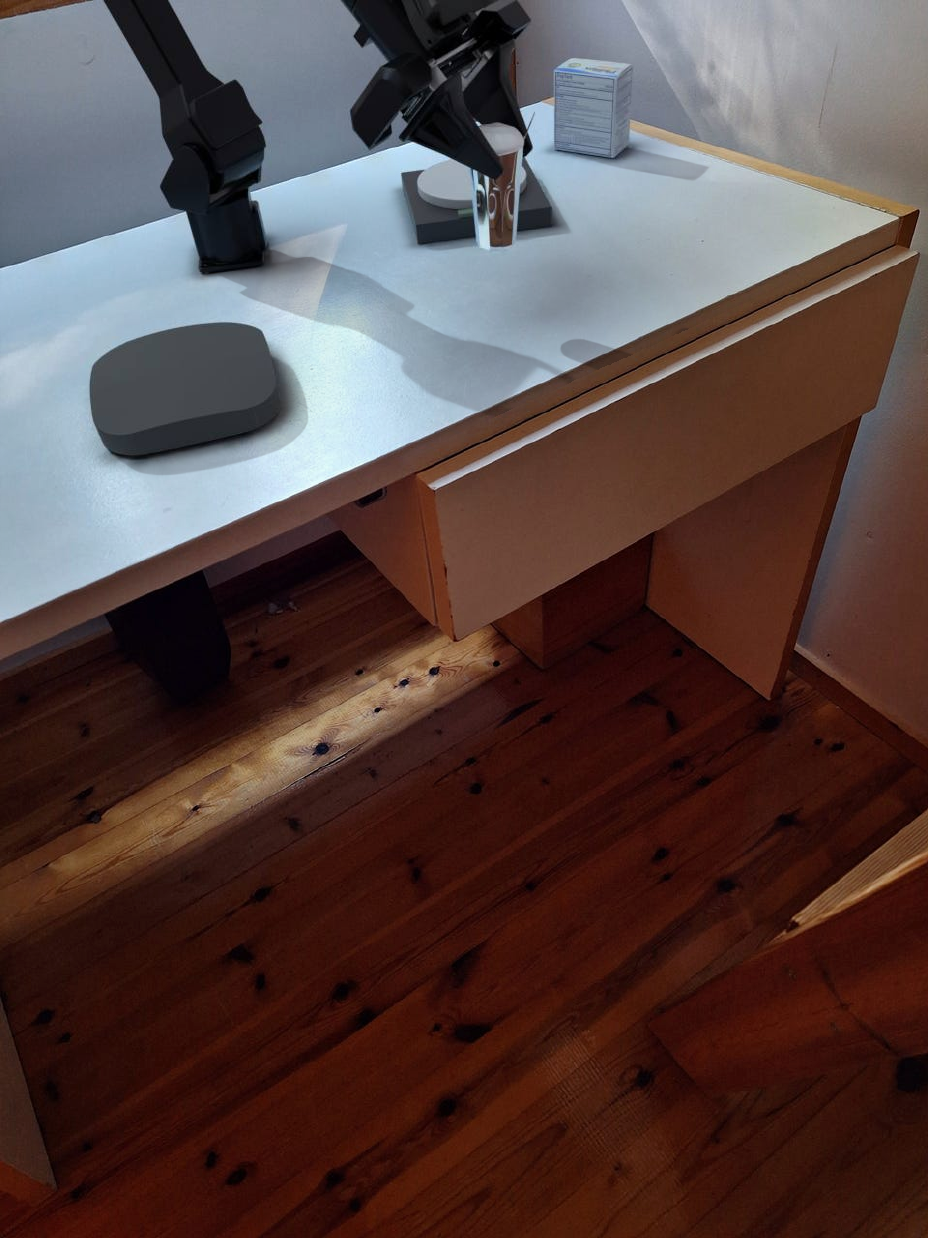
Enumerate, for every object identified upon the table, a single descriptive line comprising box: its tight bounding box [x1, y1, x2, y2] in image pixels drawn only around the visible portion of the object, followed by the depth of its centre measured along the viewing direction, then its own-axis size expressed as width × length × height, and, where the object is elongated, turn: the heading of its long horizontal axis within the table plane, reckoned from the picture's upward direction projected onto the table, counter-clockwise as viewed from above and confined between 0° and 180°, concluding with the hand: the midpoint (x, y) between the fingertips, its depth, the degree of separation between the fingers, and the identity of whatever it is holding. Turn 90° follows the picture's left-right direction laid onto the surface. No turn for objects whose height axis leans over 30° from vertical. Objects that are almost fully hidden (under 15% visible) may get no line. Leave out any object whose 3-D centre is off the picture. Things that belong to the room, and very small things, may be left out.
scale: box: [400, 157, 553, 245], centre depth 96 cm, size 14×14×3 cm
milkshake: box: [469, 111, 536, 252], centre depth 72 cm, size 5×5×10 cm
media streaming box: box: [88, 321, 282, 456], centre depth 74 cm, size 15×15×3 cm
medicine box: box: [553, 57, 634, 159], centre depth 103 cm, size 8×4×9 cm, turn 57°
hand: (514, 164), depth 71 cm, fingers closed on milkshake, 4 cm apart
